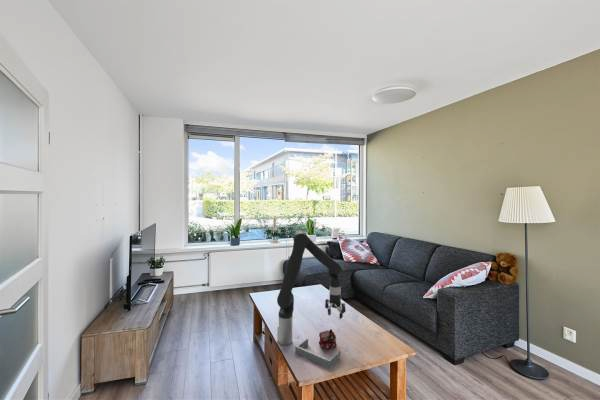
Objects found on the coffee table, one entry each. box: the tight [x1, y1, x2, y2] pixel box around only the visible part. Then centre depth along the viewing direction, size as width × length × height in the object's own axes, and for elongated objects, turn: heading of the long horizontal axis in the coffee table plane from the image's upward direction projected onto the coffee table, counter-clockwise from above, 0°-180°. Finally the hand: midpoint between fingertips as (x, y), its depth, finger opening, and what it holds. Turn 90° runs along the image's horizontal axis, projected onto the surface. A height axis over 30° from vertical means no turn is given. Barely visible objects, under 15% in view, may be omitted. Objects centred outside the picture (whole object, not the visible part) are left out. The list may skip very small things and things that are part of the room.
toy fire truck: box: [318, 329, 337, 351], centre depth 177 cm, size 7×12×10 cm, turn 119°
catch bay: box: [294, 338, 341, 369], centre depth 167 cm, size 25×12×4 cm, turn 53°
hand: (335, 316), depth 184 cm, fingers open, 8 cm apart
